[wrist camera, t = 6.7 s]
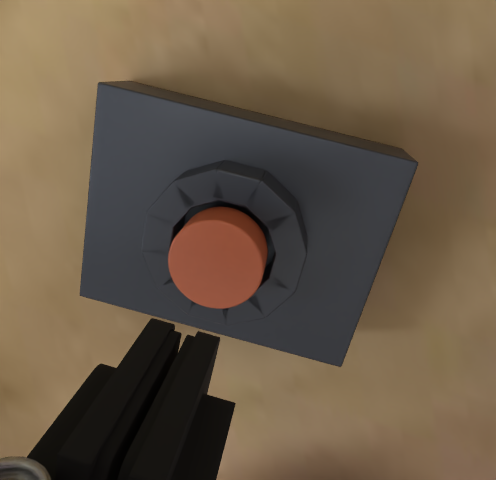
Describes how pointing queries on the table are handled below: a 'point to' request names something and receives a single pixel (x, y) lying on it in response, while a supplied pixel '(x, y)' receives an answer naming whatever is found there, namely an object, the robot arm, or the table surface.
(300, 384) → the table surface
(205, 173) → the button base
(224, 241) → the push button
